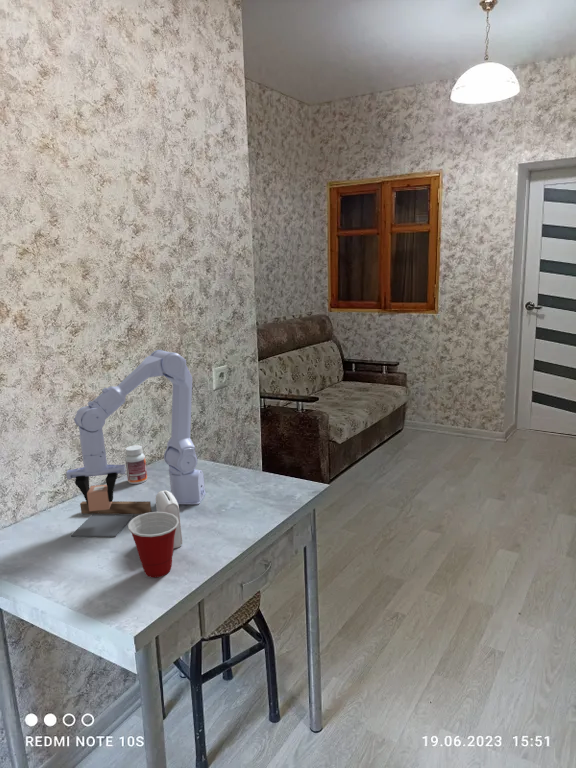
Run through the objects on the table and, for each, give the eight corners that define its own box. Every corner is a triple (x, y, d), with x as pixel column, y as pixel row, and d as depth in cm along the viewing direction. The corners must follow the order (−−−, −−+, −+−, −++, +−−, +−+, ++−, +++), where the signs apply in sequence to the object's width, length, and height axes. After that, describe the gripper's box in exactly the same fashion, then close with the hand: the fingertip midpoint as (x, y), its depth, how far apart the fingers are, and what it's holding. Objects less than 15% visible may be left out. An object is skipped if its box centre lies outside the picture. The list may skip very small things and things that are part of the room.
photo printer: (157, 533, 138) (152, 488, 135) (174, 529, 139) (169, 484, 137) (167, 551, 129) (162, 503, 126) (184, 546, 130) (180, 499, 128)
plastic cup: (169, 587, 114) (163, 535, 111) (124, 581, 117) (117, 530, 114) (191, 560, 124) (187, 512, 121) (149, 556, 127) (144, 508, 124)
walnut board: (151, 511, 151) (150, 501, 150) (149, 513, 149) (148, 503, 149) (84, 511, 153) (82, 501, 153) (81, 513, 152) (80, 503, 151)
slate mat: (133, 515, 149) (133, 514, 148) (115, 537, 137) (115, 535, 137) (92, 515, 150) (92, 514, 150) (70, 536, 138) (70, 535, 138)
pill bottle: (151, 480, 174) (147, 447, 171) (133, 486, 170) (129, 452, 167) (141, 475, 178) (137, 443, 176) (124, 481, 174) (120, 448, 172)
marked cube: (112, 501, 145) (110, 483, 144) (109, 509, 140) (106, 491, 139) (93, 503, 145) (90, 485, 144) (89, 511, 140) (86, 493, 139)
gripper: (125, 445, 144) (130, 492, 147) (68, 450, 142) (75, 498, 145) (120, 453, 137) (126, 503, 140) (61, 459, 135) (68, 509, 138)
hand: (100, 501), depth 142 cm, fingers closed on marked cube, 5 cm apart
